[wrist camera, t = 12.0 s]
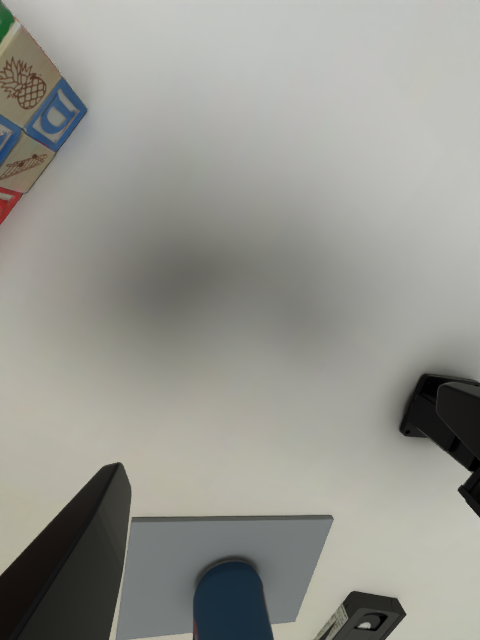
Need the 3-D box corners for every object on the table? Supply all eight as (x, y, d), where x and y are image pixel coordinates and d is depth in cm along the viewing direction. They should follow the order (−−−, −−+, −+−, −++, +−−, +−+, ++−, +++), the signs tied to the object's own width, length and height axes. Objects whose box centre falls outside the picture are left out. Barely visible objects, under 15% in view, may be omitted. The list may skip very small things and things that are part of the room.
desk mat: (331, 515, 27) (333, 519, 27) (293, 617, 31) (294, 621, 31) (132, 517, 23) (131, 522, 23) (116, 635, 27) (115, 640, 27)
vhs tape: (350, 586, 32) (359, 607, 30) (394, 594, 35) (406, 614, 33) (292, 660, 35) (298, 684, 33) (337, 663, 37) (345, 685, 35)
